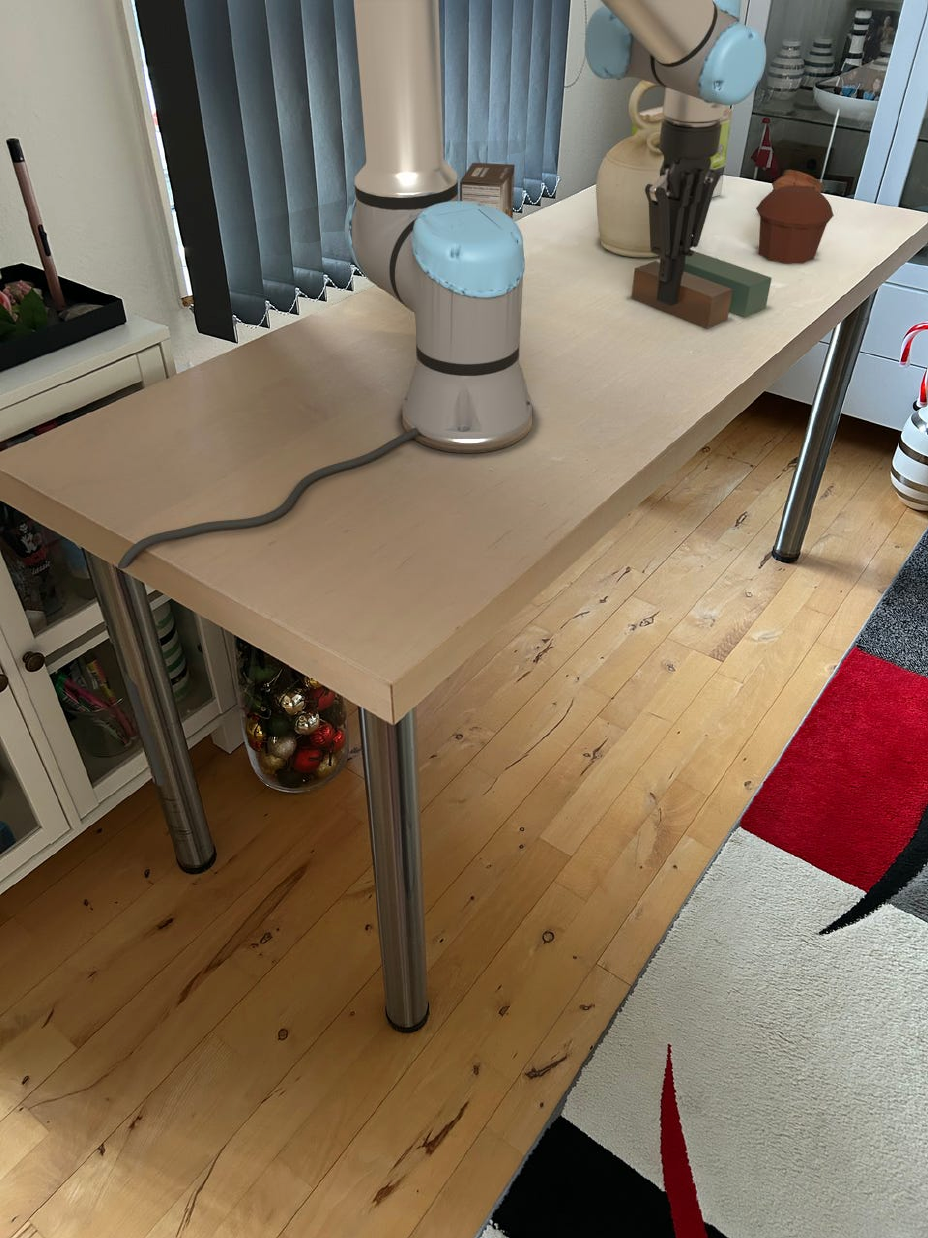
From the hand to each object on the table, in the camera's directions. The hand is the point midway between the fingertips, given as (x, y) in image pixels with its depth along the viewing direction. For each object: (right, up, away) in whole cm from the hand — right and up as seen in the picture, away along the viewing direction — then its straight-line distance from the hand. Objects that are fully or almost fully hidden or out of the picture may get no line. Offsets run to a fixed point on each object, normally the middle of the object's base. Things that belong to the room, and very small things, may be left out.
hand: (667, 301), depth 141 cm
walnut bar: (+2, 0, +3) cm, 4 cm away
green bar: (+8, +3, +6) cm, 10 cm away
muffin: (+23, +14, +20) cm, 33 cm away
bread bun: (+29, +25, +34) cm, 51 cm away
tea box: (+9, +32, +41) cm, 53 cm away
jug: (0, +16, +23) cm, 28 cm away
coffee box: (-25, +6, +10) cm, 28 cm away
